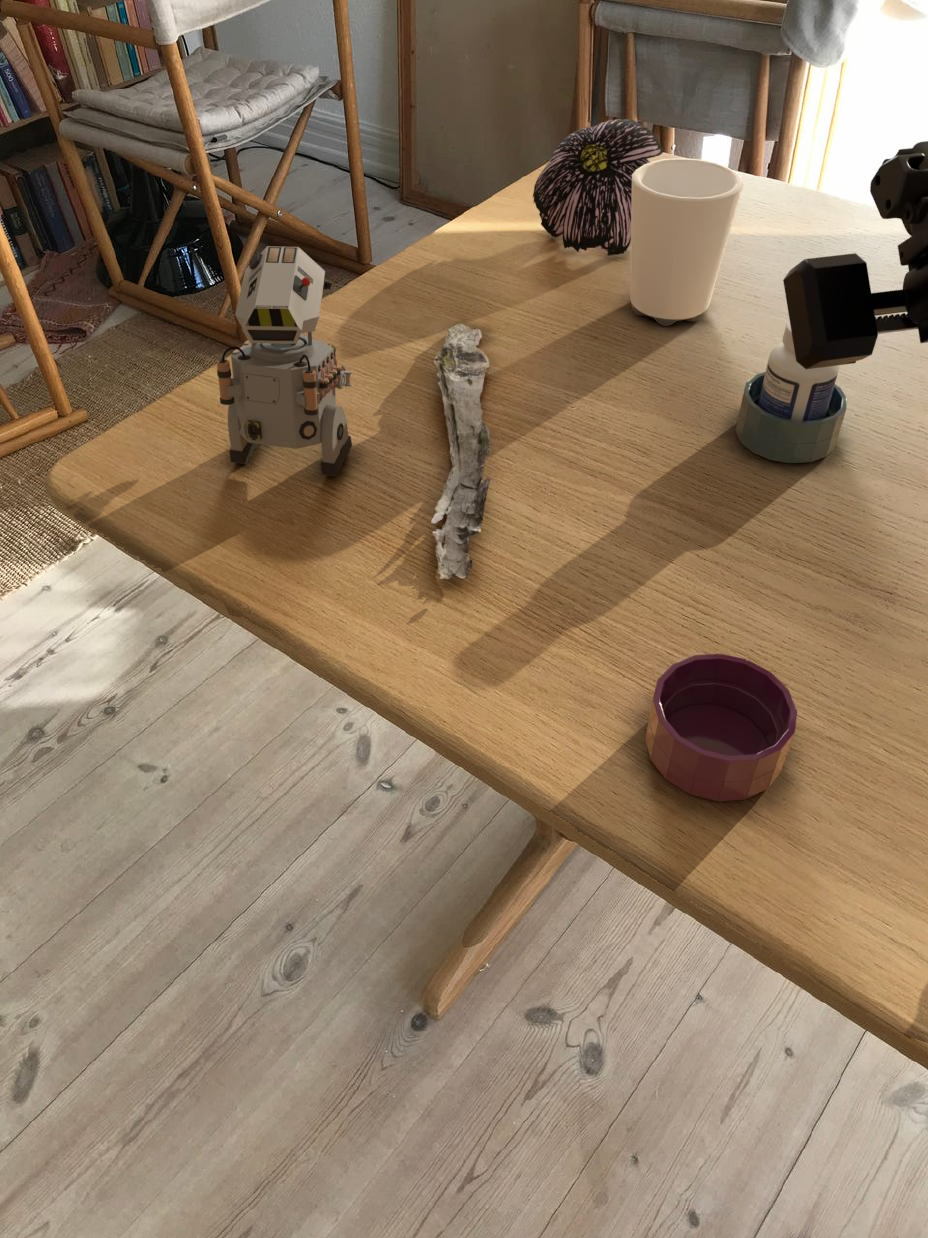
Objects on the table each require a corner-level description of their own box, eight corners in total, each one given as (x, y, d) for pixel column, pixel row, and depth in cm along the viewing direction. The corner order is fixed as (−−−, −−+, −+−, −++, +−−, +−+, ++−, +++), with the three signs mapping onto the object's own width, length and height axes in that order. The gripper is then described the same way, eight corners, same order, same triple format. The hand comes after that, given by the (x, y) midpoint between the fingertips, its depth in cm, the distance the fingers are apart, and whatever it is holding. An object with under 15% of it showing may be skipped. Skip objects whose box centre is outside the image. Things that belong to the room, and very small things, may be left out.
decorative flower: (502, 146, 104) (599, 70, 108) (500, 228, 115) (589, 157, 119) (607, 222, 100) (704, 140, 104) (595, 300, 111) (683, 224, 115)
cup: (722, 292, 102) (746, 162, 93) (715, 339, 95) (740, 204, 86) (624, 281, 103) (638, 153, 94) (610, 327, 97) (624, 193, 88)
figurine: (373, 412, 86) (359, 242, 76) (330, 492, 78) (308, 314, 68) (273, 400, 88) (246, 231, 77) (221, 476, 80) (183, 300, 69)
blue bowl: (837, 419, 85) (849, 378, 82) (831, 473, 80) (844, 430, 77) (741, 404, 87) (750, 362, 84) (729, 455, 81) (738, 413, 79)
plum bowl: (787, 715, 62) (802, 671, 59) (774, 819, 57) (790, 776, 54) (658, 685, 64) (667, 641, 61) (633, 783, 58) (642, 740, 56)
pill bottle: (813, 418, 85) (843, 311, 78) (823, 455, 81) (855, 346, 74) (748, 415, 85) (772, 308, 78) (755, 451, 81) (781, 343, 75)
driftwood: (492, 328, 97) (441, 333, 97) (490, 303, 95) (438, 308, 96) (492, 582, 70) (422, 586, 71) (489, 554, 69) (417, 559, 69)
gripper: (1144, 94, 56) (964, 211, 72) (839, 122, 53) (719, 237, 69) (1175, 291, 56) (988, 365, 72) (872, 329, 53) (745, 398, 69)
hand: (863, 338), depth 70 cm, fingers open, 9 cm apart
